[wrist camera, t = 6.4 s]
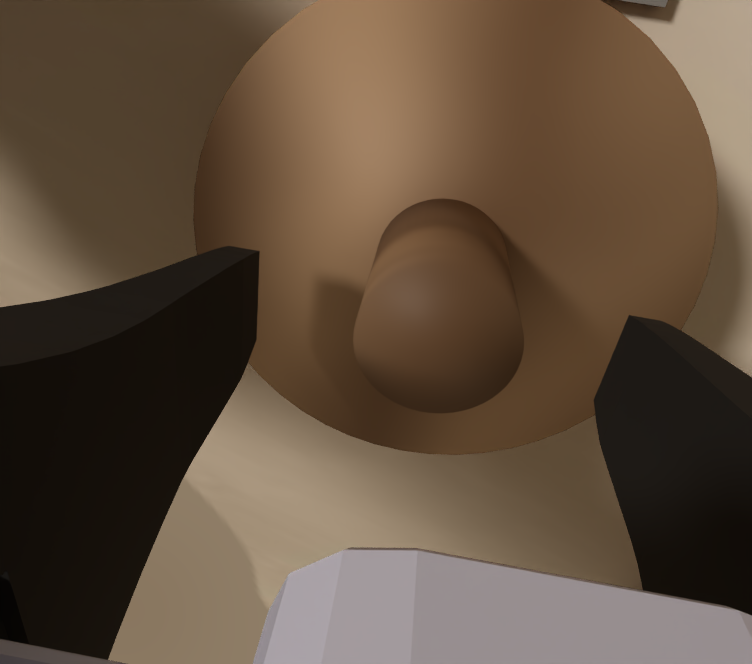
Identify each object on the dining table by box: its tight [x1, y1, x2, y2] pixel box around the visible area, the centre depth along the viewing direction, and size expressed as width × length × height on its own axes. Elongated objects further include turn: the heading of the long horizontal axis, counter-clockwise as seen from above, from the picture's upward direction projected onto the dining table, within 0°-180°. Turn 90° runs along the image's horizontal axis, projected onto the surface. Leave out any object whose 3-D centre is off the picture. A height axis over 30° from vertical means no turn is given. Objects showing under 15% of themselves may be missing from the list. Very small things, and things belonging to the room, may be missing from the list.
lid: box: [193, 0, 718, 455], centre depth 11 cm, size 11×11×4 cm
